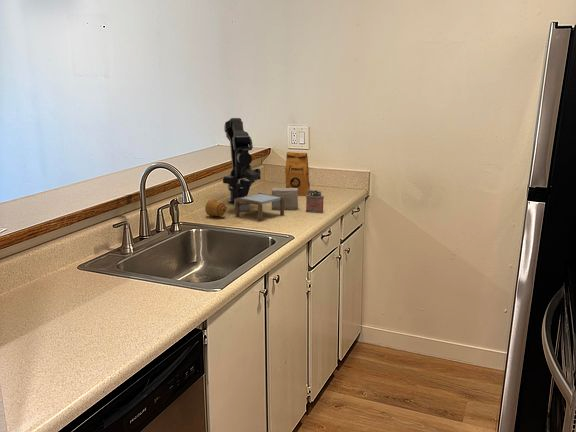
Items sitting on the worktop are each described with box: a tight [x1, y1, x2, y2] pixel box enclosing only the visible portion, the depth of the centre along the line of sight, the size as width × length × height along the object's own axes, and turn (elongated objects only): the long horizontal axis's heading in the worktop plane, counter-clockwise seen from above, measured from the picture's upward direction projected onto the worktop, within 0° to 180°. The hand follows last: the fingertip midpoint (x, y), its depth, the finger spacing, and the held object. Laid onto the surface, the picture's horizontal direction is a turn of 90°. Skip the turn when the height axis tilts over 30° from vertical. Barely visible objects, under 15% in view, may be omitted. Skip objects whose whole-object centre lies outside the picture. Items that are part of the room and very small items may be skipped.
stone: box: [233, 197, 251, 212], centre depth 257 cm, size 5×5×5 cm
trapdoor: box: [242, 193, 281, 205], centre depth 244 cm, size 12×12×1 cm
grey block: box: [271, 187, 299, 210], centre depth 257 cm, size 12×4×10 cm, turn 89°
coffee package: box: [284, 151, 311, 197], centre depth 286 cm, size 10×12×22 cm
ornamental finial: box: [204, 198, 227, 218], centre depth 242 cm, size 8×8×8 cm
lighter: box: [305, 189, 325, 214], centre depth 252 cm, size 8×3×10 cm, turn 71°
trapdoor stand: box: [235, 192, 285, 223], centre depth 245 cm, size 15×14×8 cm
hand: (242, 197), depth 256 cm, fingers open, 4 cm apart
